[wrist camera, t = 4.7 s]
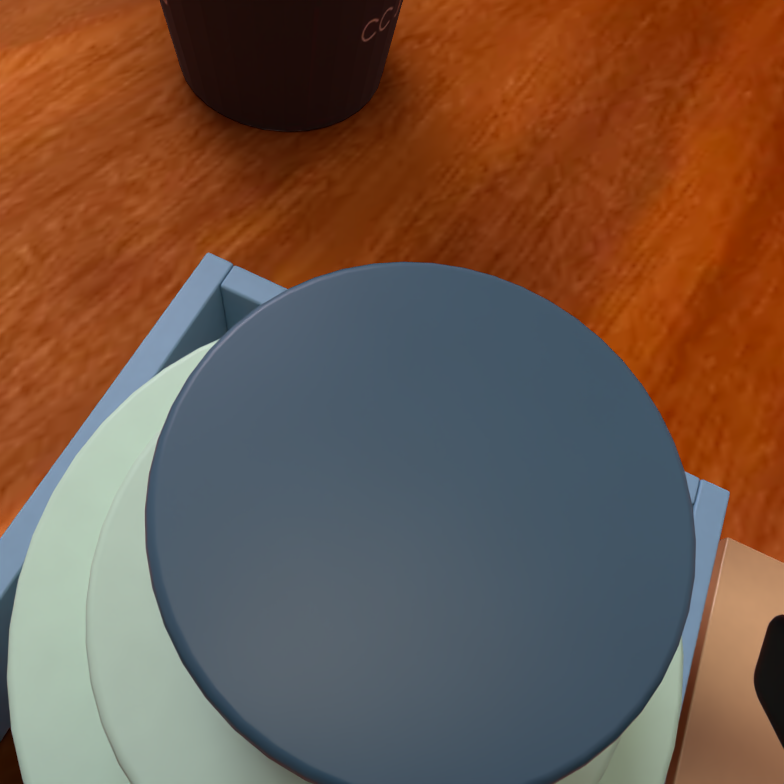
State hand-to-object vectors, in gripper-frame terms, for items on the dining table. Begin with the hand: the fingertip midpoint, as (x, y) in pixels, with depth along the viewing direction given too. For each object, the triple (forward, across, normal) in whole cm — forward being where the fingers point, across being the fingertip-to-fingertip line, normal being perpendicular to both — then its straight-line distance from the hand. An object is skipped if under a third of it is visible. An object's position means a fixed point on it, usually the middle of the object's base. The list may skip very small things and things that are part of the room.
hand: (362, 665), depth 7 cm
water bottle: (+6, 0, +6) cm, 8 cm away
